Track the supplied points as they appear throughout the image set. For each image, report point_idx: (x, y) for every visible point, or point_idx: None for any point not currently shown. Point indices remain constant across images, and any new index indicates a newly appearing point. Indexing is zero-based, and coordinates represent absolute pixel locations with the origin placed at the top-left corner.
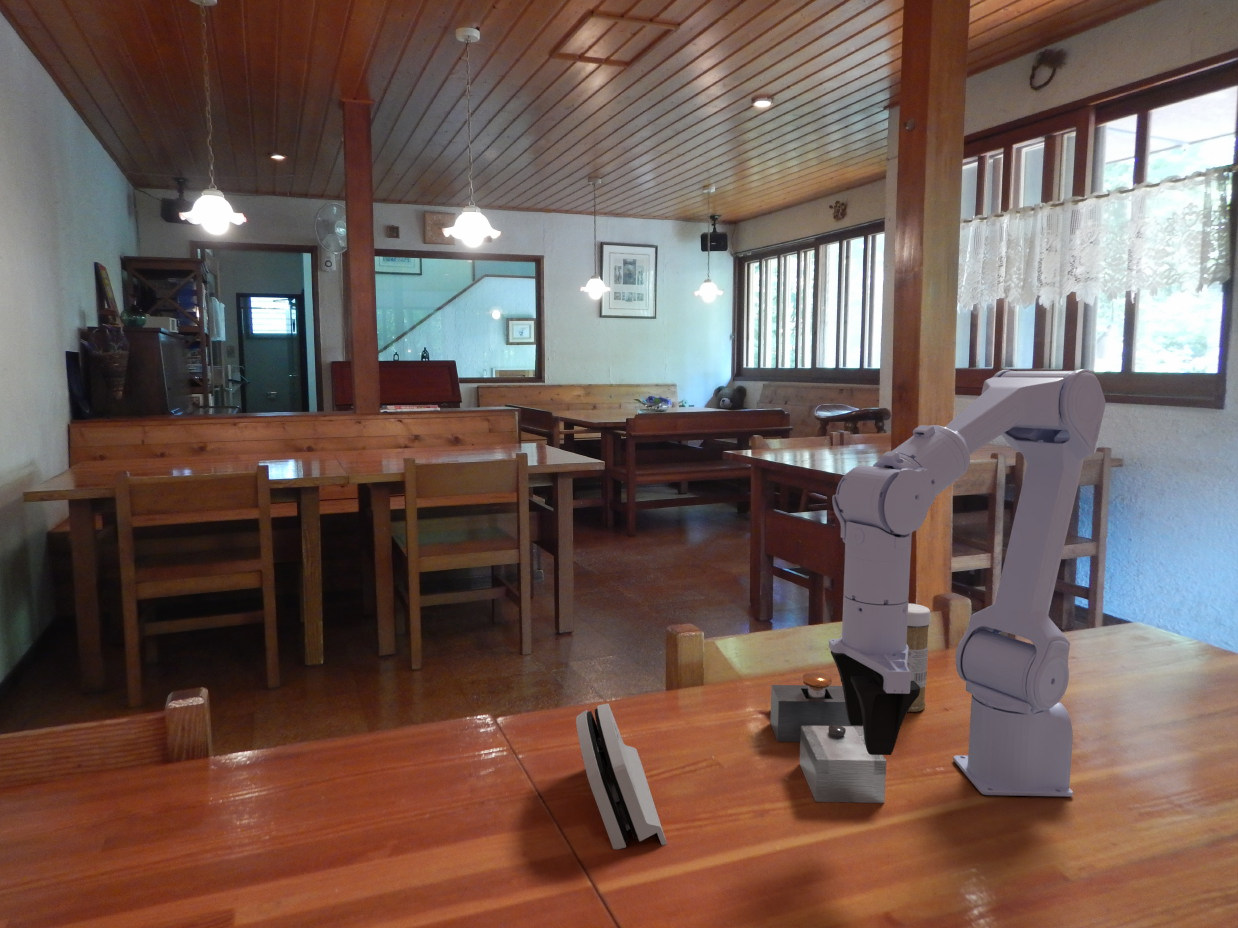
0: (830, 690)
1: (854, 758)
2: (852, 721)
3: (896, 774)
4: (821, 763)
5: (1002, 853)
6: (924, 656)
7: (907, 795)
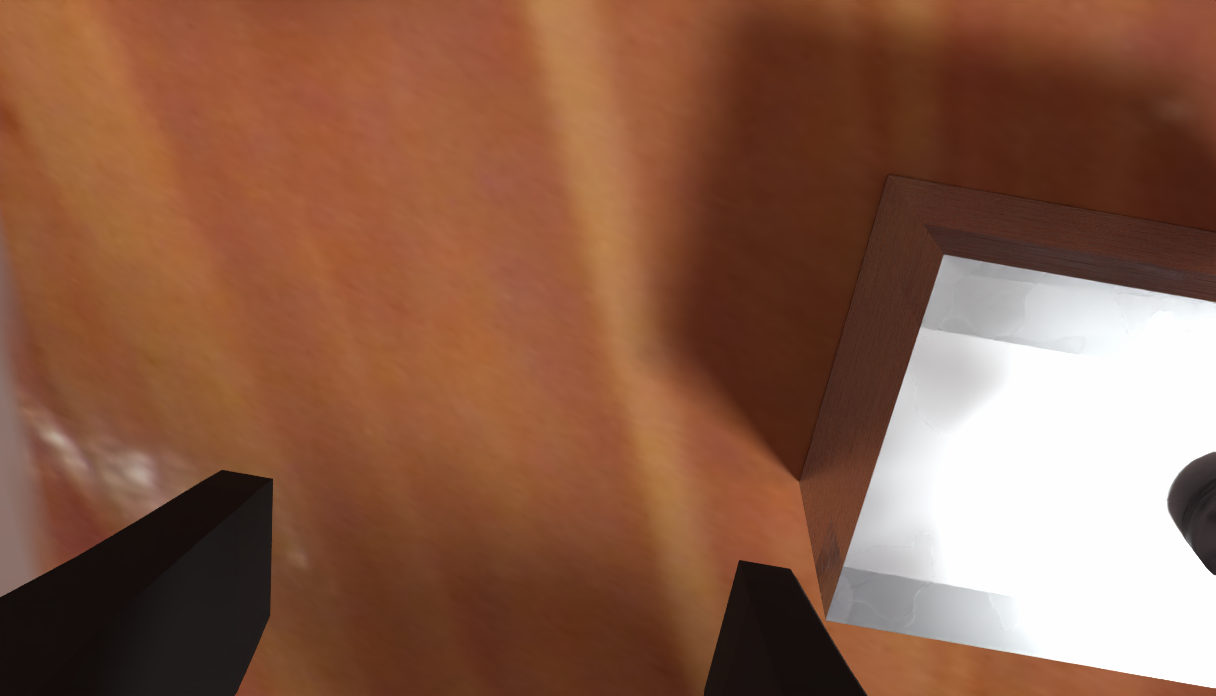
0: None
1: (895, 476)
2: (738, 589)
3: None
4: (926, 272)
5: (393, 692)
6: None
7: None
